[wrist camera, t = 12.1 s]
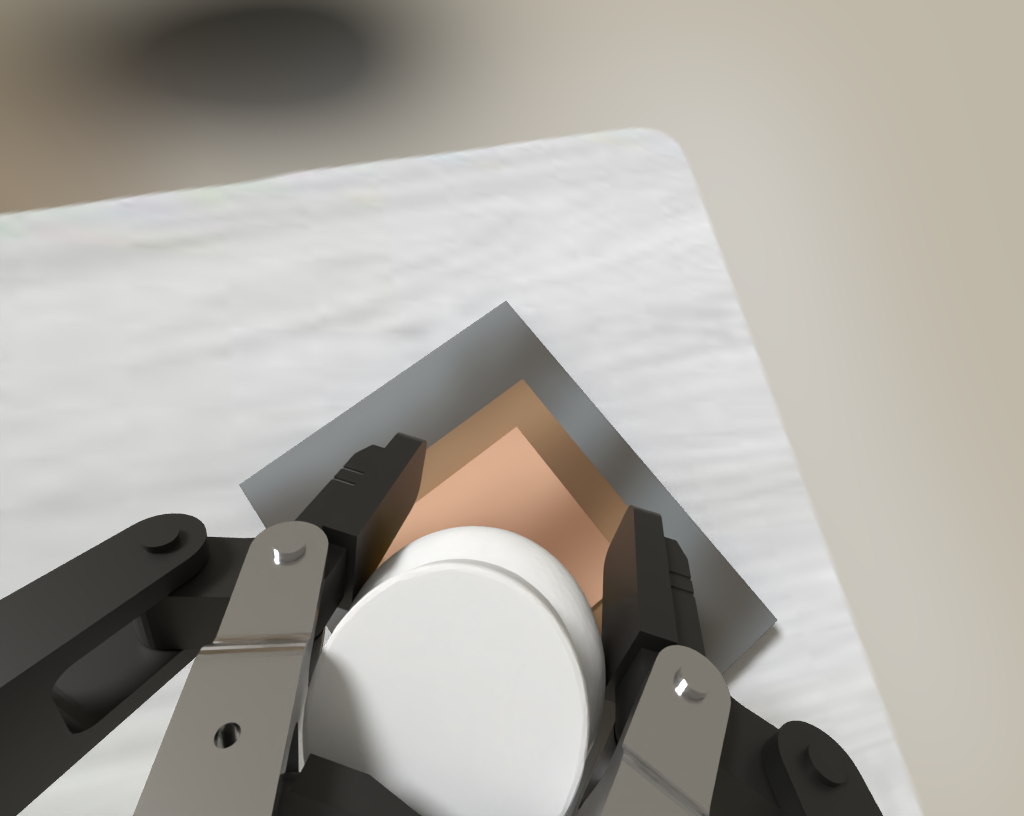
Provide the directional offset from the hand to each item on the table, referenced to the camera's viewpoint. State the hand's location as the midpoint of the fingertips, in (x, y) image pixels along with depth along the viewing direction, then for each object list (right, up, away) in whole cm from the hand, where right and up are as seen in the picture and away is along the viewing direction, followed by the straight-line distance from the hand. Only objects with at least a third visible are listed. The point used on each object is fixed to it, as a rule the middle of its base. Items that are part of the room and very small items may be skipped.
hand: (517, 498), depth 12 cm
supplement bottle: (-1, -5, +4) cm, 6 cm away
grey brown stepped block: (-1, -4, +10) cm, 11 cm away
